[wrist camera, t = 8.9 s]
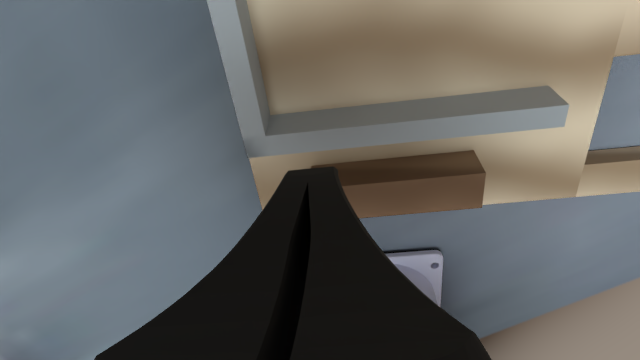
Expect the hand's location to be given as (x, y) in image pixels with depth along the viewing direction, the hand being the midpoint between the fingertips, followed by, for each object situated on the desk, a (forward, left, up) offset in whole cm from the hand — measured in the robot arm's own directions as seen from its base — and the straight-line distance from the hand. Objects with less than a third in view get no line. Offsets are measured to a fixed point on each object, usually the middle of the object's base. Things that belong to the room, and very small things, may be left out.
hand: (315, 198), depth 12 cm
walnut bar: (-5, -3, -9) cm, 11 cm away
